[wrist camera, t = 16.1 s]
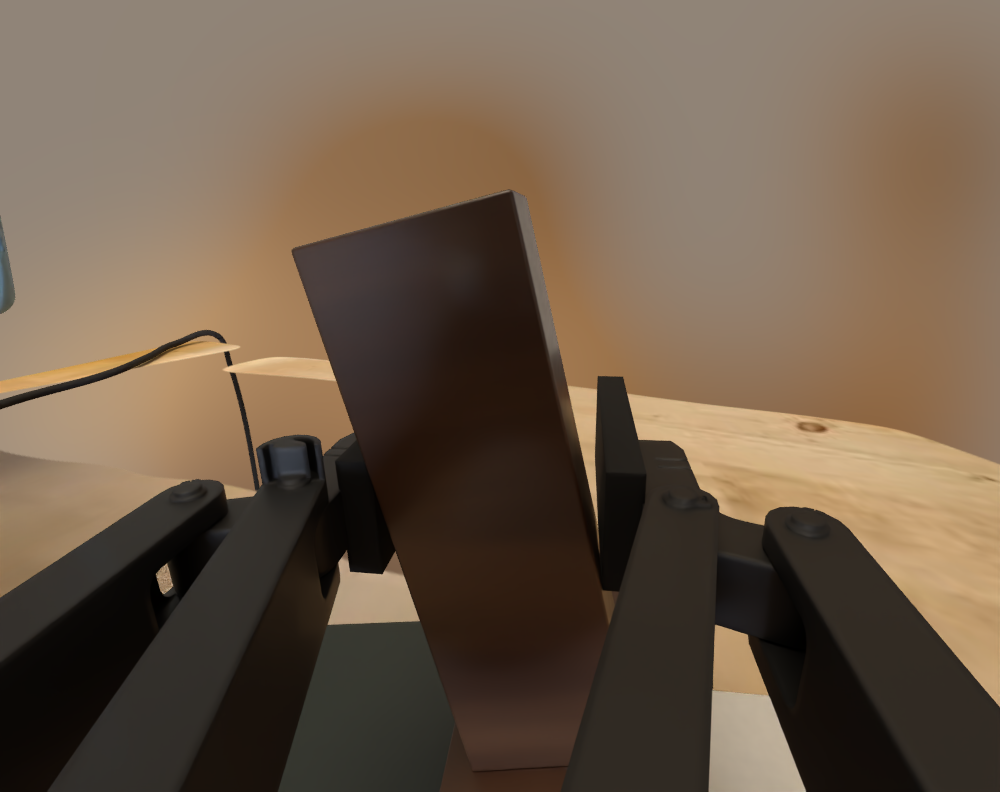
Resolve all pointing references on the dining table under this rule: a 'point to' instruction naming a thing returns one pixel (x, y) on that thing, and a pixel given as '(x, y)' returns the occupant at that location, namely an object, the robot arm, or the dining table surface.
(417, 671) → the slate board
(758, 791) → the chalk patch
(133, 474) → the dining table surface
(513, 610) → the brown upright slab stand
